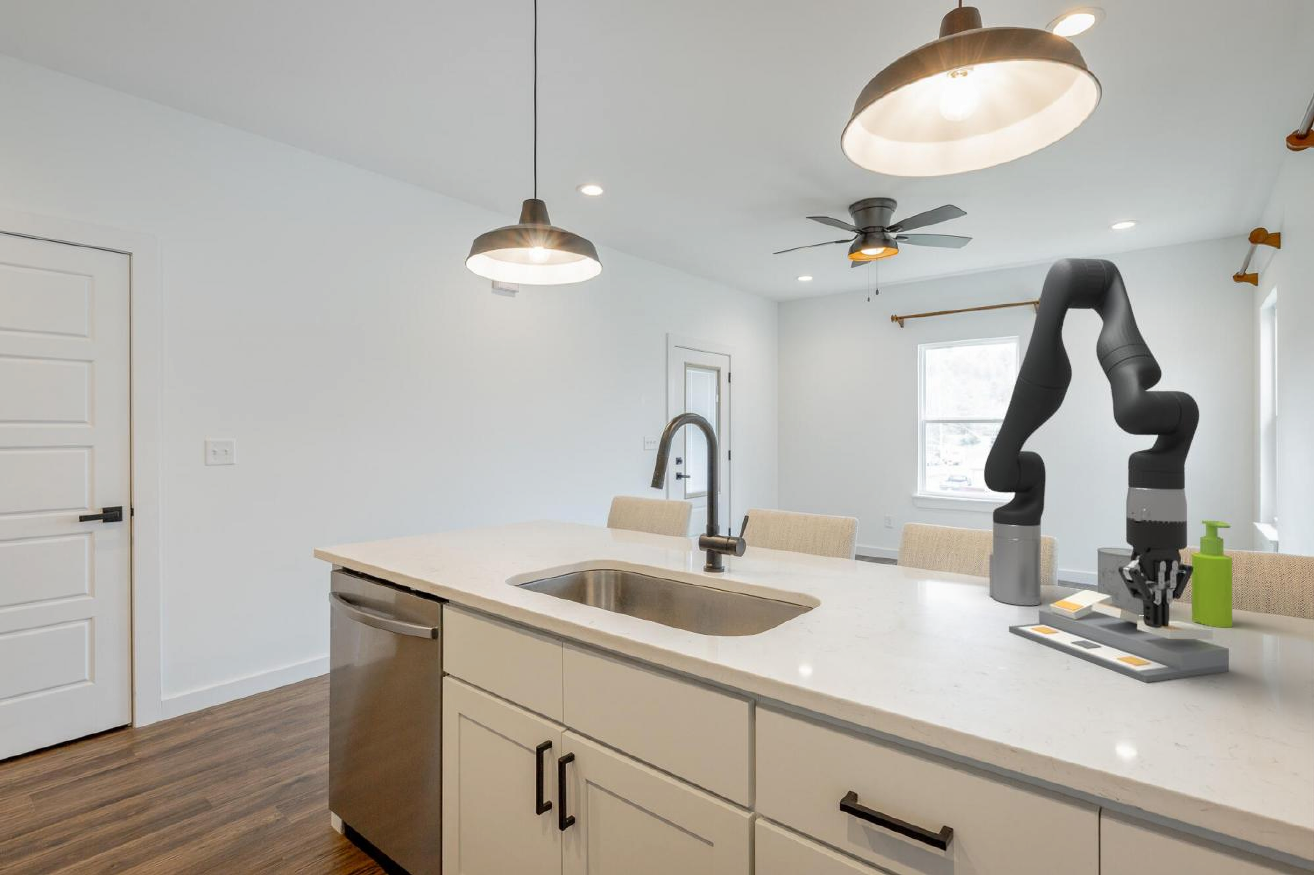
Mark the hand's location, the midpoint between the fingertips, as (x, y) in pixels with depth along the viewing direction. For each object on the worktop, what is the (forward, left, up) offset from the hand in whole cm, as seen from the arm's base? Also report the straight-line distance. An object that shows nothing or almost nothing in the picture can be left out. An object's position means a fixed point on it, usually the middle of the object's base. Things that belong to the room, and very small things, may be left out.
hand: (1156, 626), depth 98 cm
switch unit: (-8, +1, -6) cm, 10 cm away
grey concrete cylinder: (-26, +28, -7) cm, 39 cm away
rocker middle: (-8, +4, -2) cm, 9 cm away
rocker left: (-16, +4, -2) cm, 17 cm away
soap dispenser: (-14, +35, -7) cm, 38 cm away
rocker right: (0, +4, -2) cm, 4 cm away
